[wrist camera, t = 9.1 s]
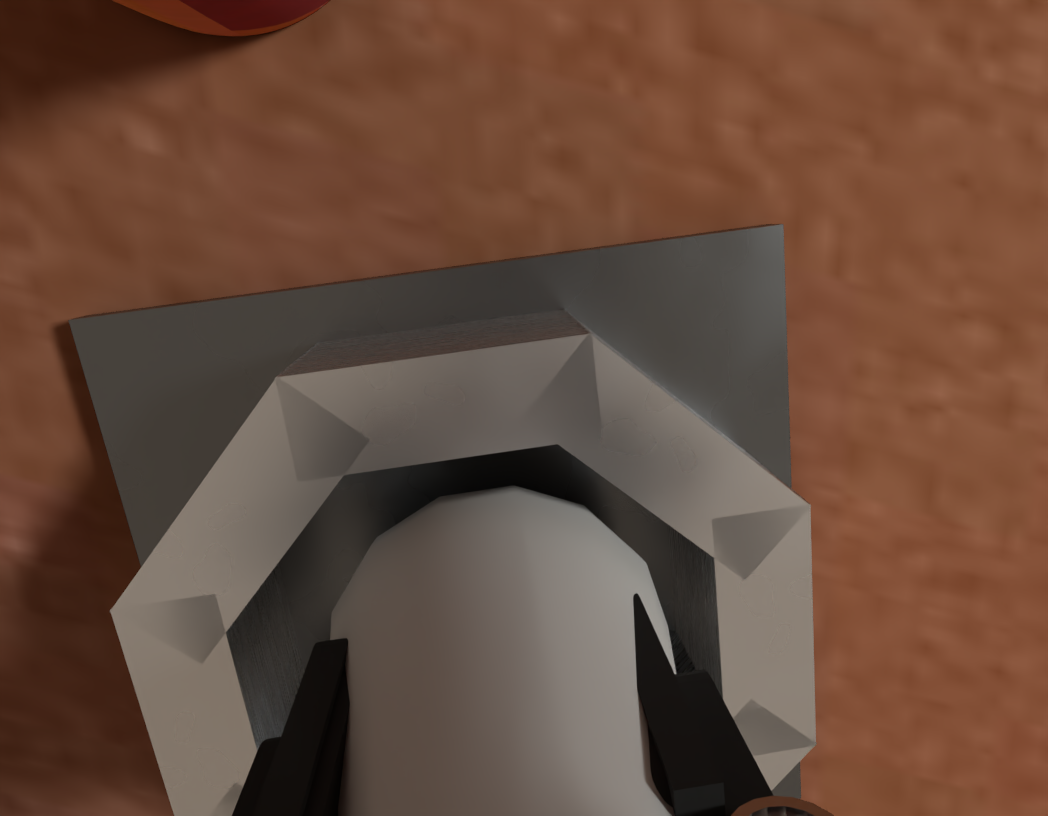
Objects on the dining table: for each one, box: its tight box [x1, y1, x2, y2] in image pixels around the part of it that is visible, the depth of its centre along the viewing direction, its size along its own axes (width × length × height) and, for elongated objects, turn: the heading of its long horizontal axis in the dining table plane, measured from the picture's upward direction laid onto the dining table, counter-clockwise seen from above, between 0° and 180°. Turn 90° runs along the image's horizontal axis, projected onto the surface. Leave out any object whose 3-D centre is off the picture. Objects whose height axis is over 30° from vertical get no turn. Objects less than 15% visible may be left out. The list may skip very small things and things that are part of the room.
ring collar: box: [69, 224, 817, 816], centre depth 14 cm, size 13×13×4 cm
